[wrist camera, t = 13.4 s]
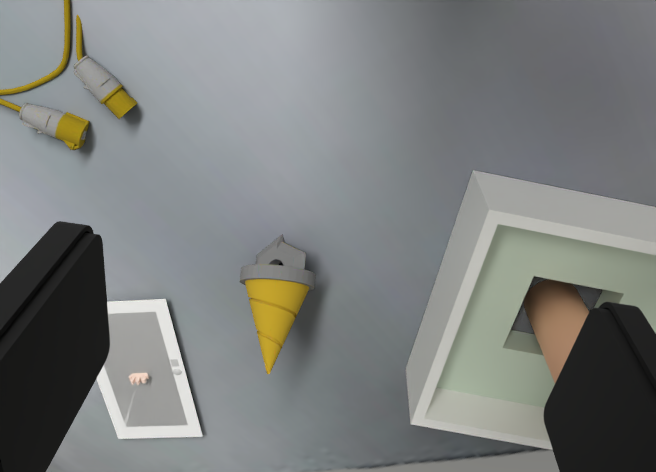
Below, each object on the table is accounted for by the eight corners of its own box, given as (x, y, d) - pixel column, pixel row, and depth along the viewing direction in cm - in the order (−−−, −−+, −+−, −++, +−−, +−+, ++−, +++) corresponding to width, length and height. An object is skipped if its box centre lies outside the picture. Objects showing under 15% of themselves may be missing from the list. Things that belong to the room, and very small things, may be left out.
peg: (535, 274, 43) (572, 354, 36) (587, 284, 44) (636, 366, 36) (516, 317, 45) (548, 402, 38) (566, 326, 46) (608, 413, 38)
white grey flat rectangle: (122, 429, 54) (114, 448, 53) (74, 295, 47) (63, 311, 45) (205, 427, 54) (199, 446, 52) (169, 291, 47) (161, 307, 45)
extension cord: (1, 171, 42) (-14, 182, 41) (-146, -61, 35) (-173, -60, 34) (151, 121, 40) (142, 131, 38) (25, -139, 33) (6, -142, 31)
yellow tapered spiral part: (333, 240, 44) (322, 378, 41) (277, 245, 47) (264, 374, 44) (288, 221, 39) (272, 374, 37) (230, 227, 42) (212, 369, 40)
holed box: (472, 170, 40) (489, 209, 34) (726, 221, 41) (779, 267, 35) (405, 368, 48) (410, 424, 43) (615, 407, 49) (645, 466, 44)
